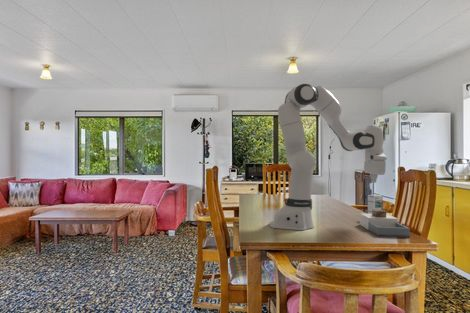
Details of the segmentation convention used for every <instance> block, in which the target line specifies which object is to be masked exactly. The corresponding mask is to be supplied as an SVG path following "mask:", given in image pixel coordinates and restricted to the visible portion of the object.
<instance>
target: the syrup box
mask: <svg viewBox="0 0 470 313" xmlns="http://www.w3.org/2000/svg"><path fill="white" fill-rule="evenodd" d="M383 202H384V197H383V195H381V194H368V195H367V214H372V209H374V210H383V209H384V206H383V205H384V204H383Z"/></svg>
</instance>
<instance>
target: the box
mask: <svg viewBox="0 0 470 313" xmlns="http://www.w3.org/2000/svg"><path fill="white" fill-rule="evenodd" d="M368 231H369V232H371V233H372V234H374V235H376V236H377V237H387V238H388V237H391V238H410V237H411V234H410V233H411V232H410V231H411V228H410V227H408V226H406V225H403V224H401V223H399V222H398V223H396V227H379V226H377V225H375V224H373V223H371V222H368Z"/></svg>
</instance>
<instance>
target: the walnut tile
mask: <svg viewBox="0 0 470 313" xmlns="http://www.w3.org/2000/svg"><path fill="white" fill-rule="evenodd" d="M386 214H387V211H386V210H374V209H372V215H373V216H375V217H386Z"/></svg>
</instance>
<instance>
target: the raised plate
mask: <svg viewBox="0 0 470 313" xmlns="http://www.w3.org/2000/svg"><path fill="white" fill-rule="evenodd" d="M398 220H399V219H398V218H397V217H395V216H392V215H390V214H388V213H386V217H375V216H373V215H372V214H368V213H361V212H360V213H359V225H360V226H361V227H363V228H364V229H366V230H368V222H371V223H373V224H375V225H377V226H379V227H396V223H399V222H398ZM368 231H369V230H368Z"/></svg>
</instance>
